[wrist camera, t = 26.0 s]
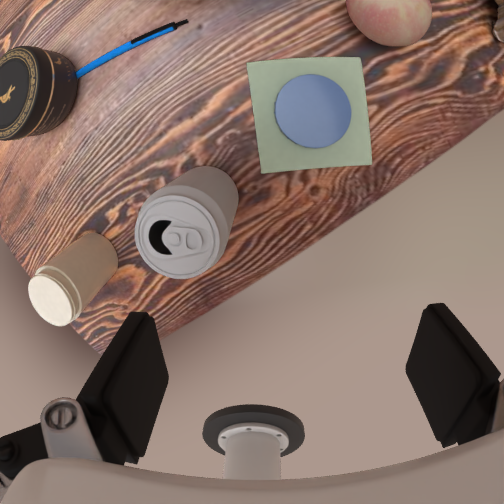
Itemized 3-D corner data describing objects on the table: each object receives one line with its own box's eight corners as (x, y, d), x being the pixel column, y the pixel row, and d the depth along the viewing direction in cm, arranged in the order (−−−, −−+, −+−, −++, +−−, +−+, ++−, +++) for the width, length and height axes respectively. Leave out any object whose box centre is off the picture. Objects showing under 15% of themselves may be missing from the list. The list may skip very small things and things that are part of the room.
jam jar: (124, 277, 34) (84, 329, 24) (85, 281, 34) (41, 328, 24) (110, 228, 31) (59, 269, 22) (69, 235, 32) (17, 274, 22)
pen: (189, 25, 23) (187, 22, 22) (43, 103, 25) (37, 103, 24) (187, 18, 22) (184, 15, 21) (42, 97, 25) (36, 97, 24)
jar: (96, 93, 25) (54, 88, 18) (42, 151, 27) (-1, 162, 20) (62, 37, 22) (21, 26, 15) (13, 96, 24) (-29, 98, 17)
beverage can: (177, 163, 28) (126, 187, 17) (241, 166, 28) (228, 192, 17) (176, 224, 31) (132, 279, 20) (237, 229, 31) (223, 289, 20)
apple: (396, -7, 19) (429, -34, 12) (416, 53, 22) (457, 39, 15) (328, -9, 20) (347, -44, 13) (348, 55, 23) (376, 33, 16)
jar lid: (275, 73, 24) (276, 70, 23) (348, 82, 24) (353, 79, 22) (271, 144, 27) (272, 145, 25) (344, 151, 27) (349, 152, 25)
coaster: (370, 164, 27) (372, 164, 27) (261, 173, 28) (261, 173, 28) (359, 58, 23) (360, 57, 23) (246, 63, 24) (246, 62, 24)
